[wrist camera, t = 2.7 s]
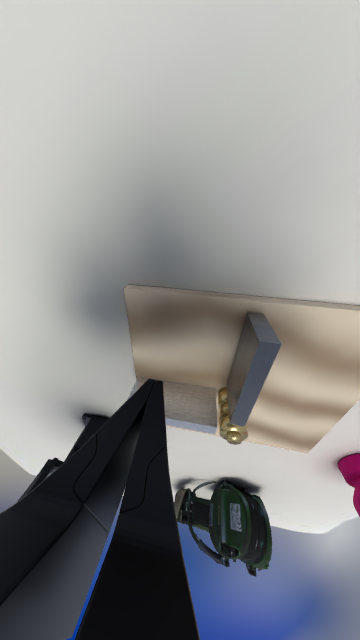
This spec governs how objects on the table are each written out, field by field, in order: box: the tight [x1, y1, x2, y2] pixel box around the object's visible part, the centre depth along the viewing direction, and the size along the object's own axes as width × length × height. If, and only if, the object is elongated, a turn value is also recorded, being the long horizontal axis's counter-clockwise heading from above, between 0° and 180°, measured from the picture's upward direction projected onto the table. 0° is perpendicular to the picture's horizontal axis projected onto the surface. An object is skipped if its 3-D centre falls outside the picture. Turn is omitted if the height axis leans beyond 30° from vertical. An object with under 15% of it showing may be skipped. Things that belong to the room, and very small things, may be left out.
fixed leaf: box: [128, 376, 248, 444], centre depth 16 cm, size 11×2×4 cm, turn 88°
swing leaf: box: [219, 312, 282, 427], centre depth 14 cm, size 11×2×4 cm, turn 178°
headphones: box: [174, 481, 272, 576], centre depth 32 cm, size 13×13×20 cm
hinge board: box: [124, 285, 360, 453], centre depth 18 cm, size 20×22×1 cm
